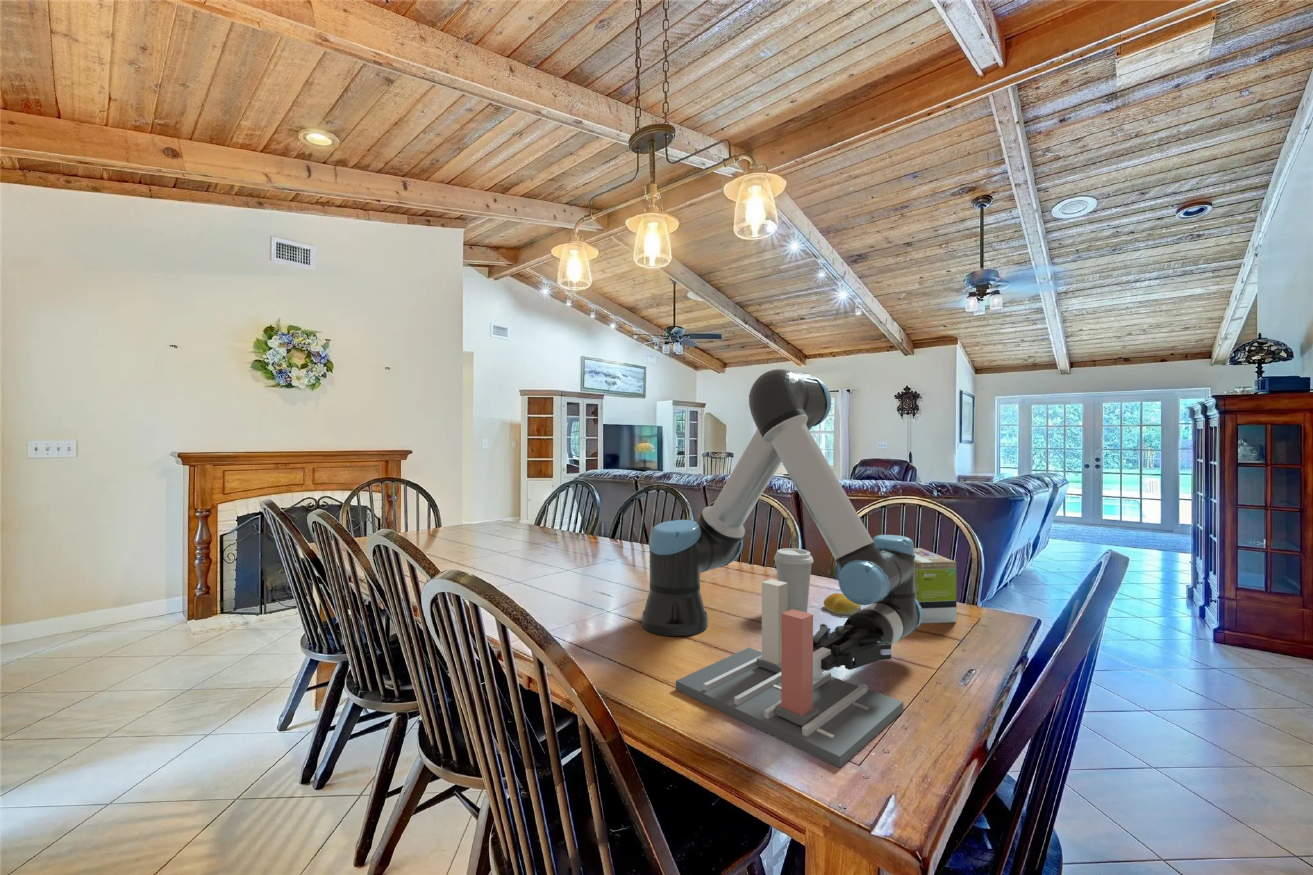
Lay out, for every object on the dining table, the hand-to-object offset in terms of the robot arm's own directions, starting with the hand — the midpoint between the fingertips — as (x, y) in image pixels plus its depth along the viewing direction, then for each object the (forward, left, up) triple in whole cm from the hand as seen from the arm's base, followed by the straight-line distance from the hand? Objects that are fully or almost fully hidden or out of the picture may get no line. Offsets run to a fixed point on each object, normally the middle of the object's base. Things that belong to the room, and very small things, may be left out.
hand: (805, 669), depth 80 cm
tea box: (-7, +66, -9) cm, 67 cm away
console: (-6, +4, -8) cm, 11 cm away
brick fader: (0, -2, -6) cm, 7 cm away
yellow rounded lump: (-22, +55, -9) cm, 60 cm away
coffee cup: (-29, +44, -9) cm, 54 cm away
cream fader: (-12, +10, -6) cm, 17 cm away
